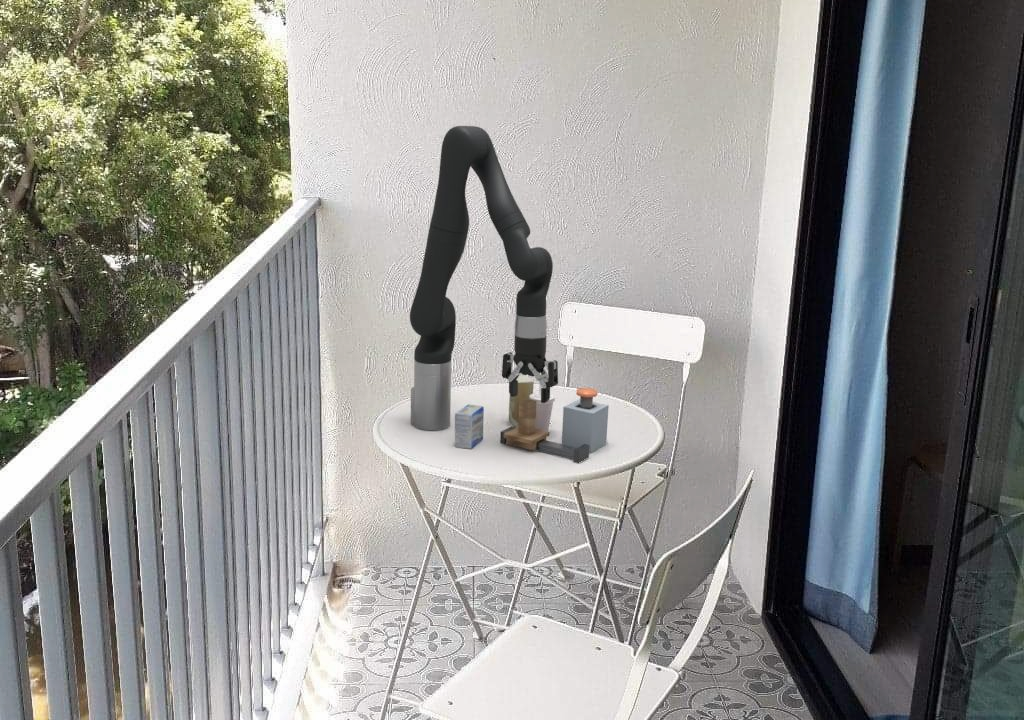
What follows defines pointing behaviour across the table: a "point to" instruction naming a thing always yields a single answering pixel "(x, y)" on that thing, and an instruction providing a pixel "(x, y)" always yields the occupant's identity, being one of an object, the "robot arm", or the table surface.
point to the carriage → (526, 427)
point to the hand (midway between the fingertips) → (529, 399)
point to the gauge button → (586, 397)
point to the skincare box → (519, 398)
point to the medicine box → (469, 426)
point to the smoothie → (542, 410)
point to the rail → (556, 448)
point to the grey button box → (585, 425)
